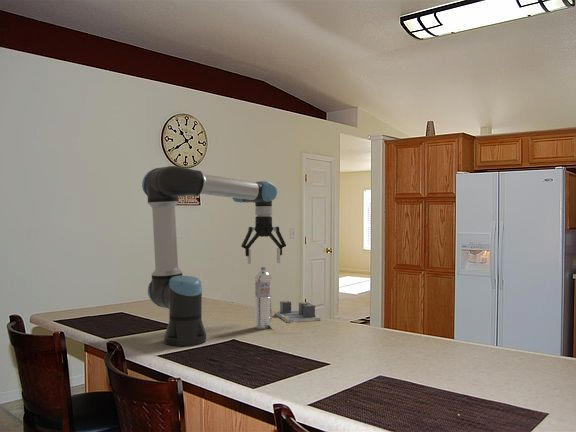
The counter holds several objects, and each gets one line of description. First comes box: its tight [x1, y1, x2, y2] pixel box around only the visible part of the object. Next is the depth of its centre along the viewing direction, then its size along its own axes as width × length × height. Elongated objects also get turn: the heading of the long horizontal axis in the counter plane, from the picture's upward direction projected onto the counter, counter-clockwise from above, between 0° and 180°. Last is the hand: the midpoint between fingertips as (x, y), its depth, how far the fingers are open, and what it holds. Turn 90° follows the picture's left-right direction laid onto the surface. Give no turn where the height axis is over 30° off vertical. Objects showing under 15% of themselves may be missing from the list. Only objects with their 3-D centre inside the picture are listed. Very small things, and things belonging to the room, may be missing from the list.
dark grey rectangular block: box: [303, 303, 316, 318], centre depth 215 cm, size 4×4×6 cm
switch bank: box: [274, 309, 321, 323], centre depth 220 cm, size 19×15×3 cm
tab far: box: [279, 300, 292, 314], centre depth 225 cm, size 4×4×6 cm
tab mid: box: [298, 301, 311, 315], centre depth 221 cm, size 4×4×6 cm
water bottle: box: [254, 266, 273, 330], centre depth 205 cm, size 7×7×25 cm
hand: (264, 263), depth 223 cm, fingers open, 13 cm apart
